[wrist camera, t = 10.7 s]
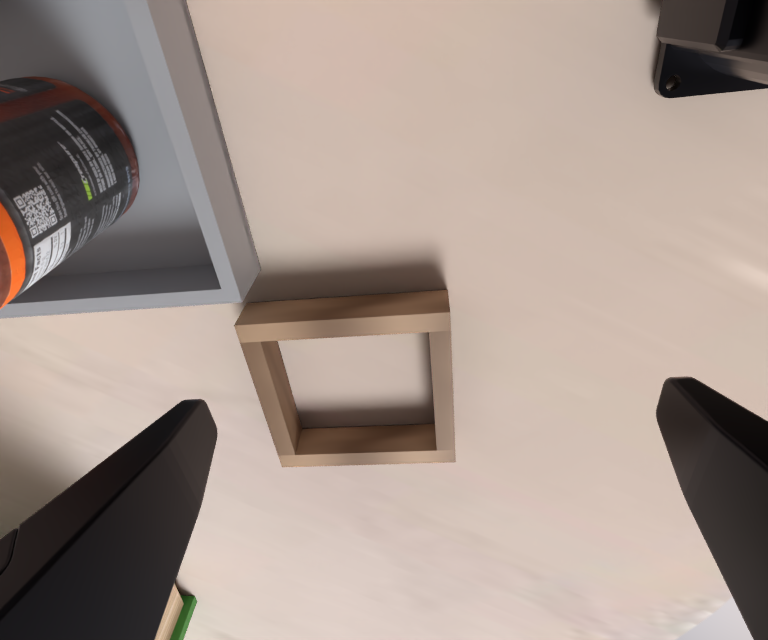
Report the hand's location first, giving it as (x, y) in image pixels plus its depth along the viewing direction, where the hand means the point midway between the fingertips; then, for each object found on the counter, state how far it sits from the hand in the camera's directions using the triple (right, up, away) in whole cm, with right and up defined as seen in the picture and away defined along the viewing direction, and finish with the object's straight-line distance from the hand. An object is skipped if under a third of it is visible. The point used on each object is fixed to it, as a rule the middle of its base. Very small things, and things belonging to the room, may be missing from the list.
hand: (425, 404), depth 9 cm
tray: (-14, +9, +11) cm, 19 cm away
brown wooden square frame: (-2, -1, +17) cm, 17 cm away
